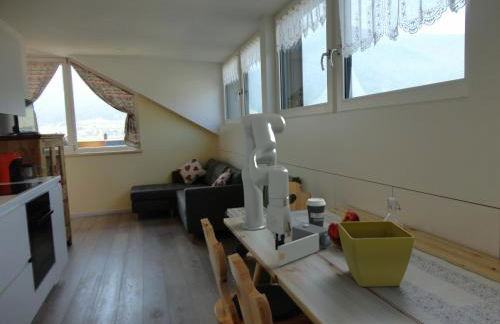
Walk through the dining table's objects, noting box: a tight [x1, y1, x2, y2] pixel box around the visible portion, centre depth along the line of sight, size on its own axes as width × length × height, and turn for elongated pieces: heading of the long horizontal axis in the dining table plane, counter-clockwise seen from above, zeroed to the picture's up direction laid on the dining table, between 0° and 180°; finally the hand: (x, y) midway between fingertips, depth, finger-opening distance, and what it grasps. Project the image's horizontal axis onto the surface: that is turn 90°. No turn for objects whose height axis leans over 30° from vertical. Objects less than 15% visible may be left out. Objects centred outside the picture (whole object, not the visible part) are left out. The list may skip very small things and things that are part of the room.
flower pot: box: [337, 220, 415, 288], centre depth 110 cm, size 19×19×17 cm
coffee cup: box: [305, 197, 327, 227], centre depth 165 cm, size 10×10×15 cm
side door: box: [277, 233, 320, 267], centre depth 129 cm, size 22×2×7 cm, turn 129°
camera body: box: [291, 222, 332, 251], centre depth 145 cm, size 16×9×8 cm, turn 38°
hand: (280, 249), depth 126 cm, fingers closed
